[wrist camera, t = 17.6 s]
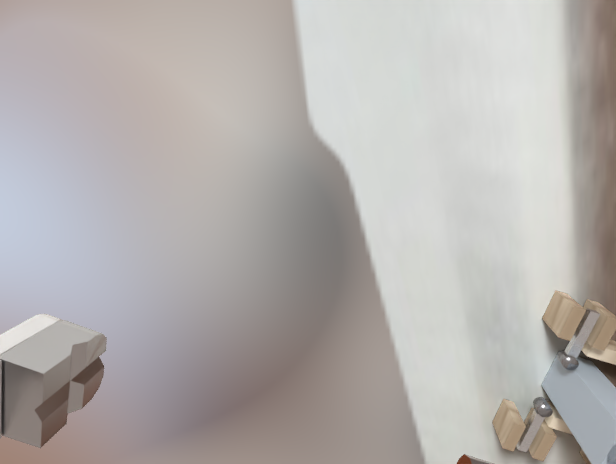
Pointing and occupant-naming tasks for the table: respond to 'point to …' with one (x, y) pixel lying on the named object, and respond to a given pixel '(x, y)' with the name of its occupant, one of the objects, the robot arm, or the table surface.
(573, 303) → the light wooden frame
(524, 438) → the plunger
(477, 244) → the table surface
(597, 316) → the plunger
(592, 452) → the peg
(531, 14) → the table surface
